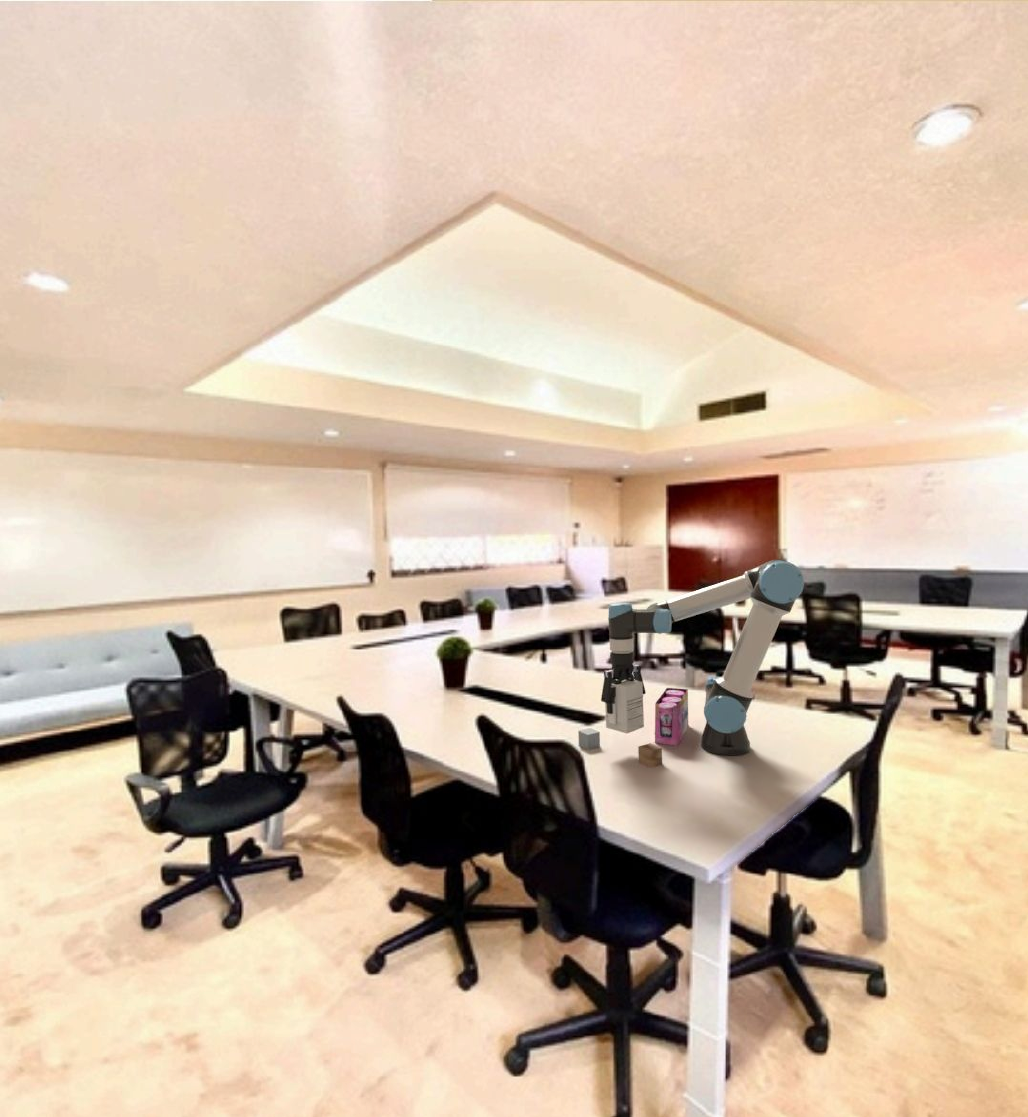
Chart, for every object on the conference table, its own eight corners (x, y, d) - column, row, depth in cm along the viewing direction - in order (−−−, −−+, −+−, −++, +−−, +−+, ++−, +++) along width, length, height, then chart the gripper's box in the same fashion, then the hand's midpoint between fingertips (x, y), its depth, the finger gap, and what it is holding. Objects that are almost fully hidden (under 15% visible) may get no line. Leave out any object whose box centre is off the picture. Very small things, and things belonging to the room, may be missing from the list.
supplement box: (605, 728, 194) (603, 682, 193) (623, 721, 199) (621, 677, 199) (627, 734, 187) (625, 686, 186) (645, 727, 192) (643, 681, 192)
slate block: (590, 742, 204) (590, 728, 204) (599, 746, 200) (599, 732, 200) (578, 745, 202) (578, 730, 201) (588, 749, 197) (587, 734, 197)
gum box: (677, 747, 197) (677, 706, 197) (653, 744, 201) (652, 704, 200) (688, 725, 219) (688, 689, 218) (666, 723, 222) (666, 687, 222)
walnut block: (650, 758, 188) (650, 743, 188) (662, 763, 184) (661, 747, 184) (638, 762, 186) (638, 746, 185) (650, 767, 181) (649, 751, 181)
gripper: (639, 645, 201) (642, 711, 202) (587, 654, 190) (590, 724, 190) (655, 648, 195) (658, 716, 196) (602, 657, 183) (605, 730, 184)
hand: (624, 720), depth 193 cm, fingers closed on supplement box, 9 cm apart
